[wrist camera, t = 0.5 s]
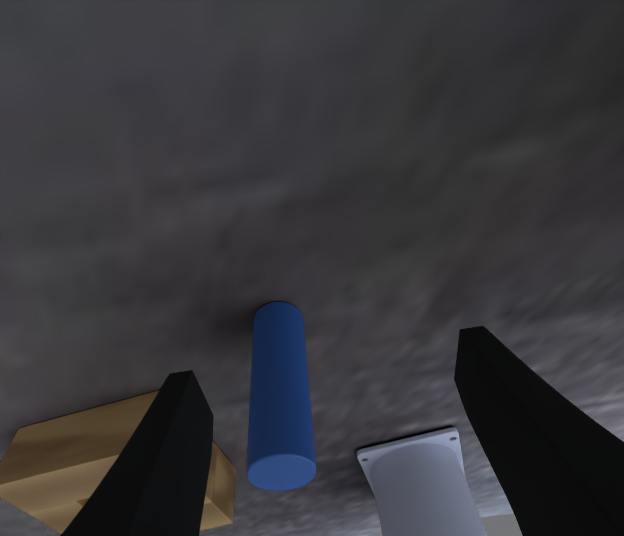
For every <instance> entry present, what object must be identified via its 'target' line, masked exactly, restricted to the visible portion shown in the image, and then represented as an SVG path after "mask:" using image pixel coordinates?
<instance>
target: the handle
mask: <svg viewBox="0 0 624 536" xmlns="http://www.w3.org/2000/svg"><path fill="white" fill-rule="evenodd" d="M315 474H316V458H315V447H314V436H313V425H312V414H311V403H310V392H309V381H308V370H307V359H306V348H305V337H304V326H303V317H302V314H301V312H300V311H299V309H298V308H296V307H295V306H294V305H292V304H289V303H286V302H272V303H269V304H266V305H264V306H263V307H261V308H260V309H259V310H258V311H257V313H256V315H255V317H254V330H253V350H252V369H251V389H250V409H249V428H248V448H247V467H246V476H247V478H248V480H249V482H250V483H251V484H253V485H254V486H256V487H258V488H261V489H264V490H269V491H286V490H292V489H296V488H299V487H301V486H304V485H305V484H307V483H309V482H310V481H311V480H312V479H313V478H314V476H315Z"/></svg>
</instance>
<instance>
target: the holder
mask: <svg viewBox="0 0 624 536" xmlns="http://www.w3.org/2000/svg"><path fill="white" fill-rule="evenodd" d="M158 392H159V390H158V391H155V392H151V393H147V394H144V395H140V396H136V397H133V398H129V399H125V400H122V401H118V402H114V403H111V404H107V405H103V406H100V407H96V408H92V409H88V410H85V411H81V412H77V413H74V414H70V415H66V416H63V417H59V418H55V419H52V420H48V421H44V422H41V423H37V424H33V425H30V426H26V427H22V428H19V429H18V431H17V433H16V435H15V436H14V438H13V440H12V442H11V444H10V445H9V447H8V449H7V451H6V453H5V454H4V456H3V458H2V460H1V462H0V498H2V499H3V500H5V501H7V502H8V503H10V504H12V505H13V506H15V507H17V508H18V509H20V510H22V511H23V512H25V513H27V514H29V515H31V516H32V517H34V518H36V519H37V520H39V521H41V522H42V523H44V524H46V525H47V526H49V527H51V528H52V529H54V530H56V531H57V532H59V533H61V534H62V533H63V531H64V530H65V529H66V528H67V526H68V525H69V524H70V523H71V521H72V520H73V519H74V518H75V516H76V515H77V514H78V512H79V511H80V510H81V508H82V507H83V506H84V504H85V503H86V502H87V500H88V499H89V498H90V496H91V495H92V494H93V492H94V491H95V489H96V488H97V486H98V485H99V484H100V482H101V481H102V479H103V478H104V476H105V475H106V474H107V472H108V471H109V469H110V468H111V466H112V465H113V463H114V462H115V461H116V459H117V458H118V456H119V455H120V453H121V452H122V450H123V448H124V447H125V445H126V444H127V442H128V441H129V439H130V437H131V436H132V434H133V433H134V431H135V430H136V428H137V427H138V425H139V423H140V422H141V420H142V418H143V417H144V415H145V414H146V412H147V410H148V409H149V407H150V405H151V404H152V402H153V400H154V399H155V397H156V395H157V394H158ZM235 482H236V468H235V467H234V466H233V465H232V463H231V462H230V461H229V460H228V459H227V457H226V456H225V455H224V454H223V453H222V451H221V450H220V449H219V448H218V447H217V445H216V444H215V443H214V442H213V441H212V456H211V463H210V469H209V476H208V482H207V488H206V495H205V501H204V507H203V513H202V519H201V526H200V531H201V530H206V529H210V528H214V527H219V526H223V525H227V524H232V523H233V510H234V496H235Z"/></svg>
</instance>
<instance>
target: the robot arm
mask: <svg viewBox="0 0 624 536" xmlns="http://www.w3.org/2000/svg"><path fill="white" fill-rule="evenodd" d="M454 380H455V383H456V386H457V389H458V392H459V395H460V398H461V400H462V403H463V406H464V409H465V411H466V414H467V416H468V419H469V421H470V423H471V425H472V427H473V429H474V431H475V433H476V435H477V437H478V439H479V441H480V444H481V446H482V448H483V450H484V452H485V454H486V456H487V458H488V460H489V462H490V464H491V466H492V468H493V470H494V472H495V474H496V476H497V478H498V480H499V482H500V484H501V486H502V488H503V490H504V492H505V495H506V497H507V499H508V501H509V503H510V505H511V508H512V510H513V512H514V514H515V517H516V519H517V522H518V524H519V527H520V530H521V532H522V535H523V536H624V442H623V441H622V440H620V439H619V438H617V437H616V436H615V435H613V434H612V433H610V432H609V431H608V430H606V429H605V428H604V427H602V426H601V425H599V424H598V423H597V422H595V421H594V420H593V419H592V418H590V417H589V416H588V415H586V414H585V413H584V412H582V411H581V410H580V409H579V408H577V407H576V406H575V405H573V404H572V403H571V402H570V401H568V400H567V399H566V398H565V397H563V396H562V395H561V394H560V393H559V392H557V391H556V390H555V389H554V388H553V387H551V386H550V385H549V384H548V383H547V382H545V381H544V380H543V379H542V378H541V377H540V376H538V375H537V374H536V373H535V372H534V371H533V370H531V369H530V368H529V367H528V366H527V365H526V364H525V363H523V362H522V361H521V360H520V359H519V358H518V357H517V356H516V355H515V354H513V353H512V352H511V351H510V350H509V349H508V348H507V347H506V346H505V345H504V344H502V343H501V342H500V341H499V340H498V339H497V338H496V337H495V336H494V335H493V334H492V333H491V332H489V331H488V330H487V329H486V328H485V327H484V326H479V327H473V328H466V329H460V333H459V342H458V351H457V359H456V368H455V377H454ZM212 441H213V414H212V411H211V409H210V407H209V405H208V403H207V401H206V399H205V396H204V394H203V392H202V390H201V388H200V386H199V384H198V381H197V379H196V377H195V375H194V373H193V371H192V370H191V371H184V372H178V373H171V374H169V376H168V377H167V378H166V380H165V382H164V383H163V385H162V387H161V388H160V390H159V392H158V394H157V395H156V397H155V399H154V400H153V402H152V404H151V405H150V407H149V409H148V410H147V412H146V414H145V415H144V417H143V418H142V420H141V422H140V423H139V425H138V427H137V428H136V430H135V431H134V433H133V434H132V436H131V437H130V439H129V441H128V442H127V444H126V445H125V447H124V448H123V450H122V452H121V453H120V455H119V456H118V458H117V459H116V461H115V462H114V463H113V465H112V466H111V468H110V469H109V471H108V472H107V474H106V475H105V476H104V478H103V479H102V481H101V482H100V484H99V485H98V486H97V488H96V489H95V491H94V492H93V494H92V495H91V496H90V498H89V499H88V500H87V502H86V503H85V504H84V506H83V507H82V508H81V510H80V511H79V512H78V514H77V515H76V516H75V518H74V519H73V520H72V521H71V523H70V524H69V525H68V526H67V528H66V529H65V530H64V531H63V533H62V534H61V535H60V536H199V532H200V526H201V519H202V513H203V507H204V501H205V495H206V488H207V482H208V476H209V469H210V463H211V456H212ZM357 458H358V460H359V463H360V465H361V467H362V469H363V471H364V474H365V476H366V478H367V480H368V482H369V485H370V487H371V489H372V491H373V493H374V496H375V499H376V504H377V509H378V514H379V519H380V524H381V529H382V534H383V536H487V533H486V531H485V528H484V525H483V523H482V520H481V518H480V515H479V512H478V510H477V507H476V505H475V502H474V500H473V497H472V494H471V492H470V489H469V487H468V484H467V481H466V479H465V472H464V466H463V459H462V453H461V446H460V440H459V433H458V431H457V429H456V428H453V427H451V428H447V429H442V430H438V431H434V432H430V433H426V434H422V435H417V436H413V437H409V438H405V439H401V440H397V441H393V442H388V443H384V444H380V445H376V446H372V447H368V448H363V449H360V450H358V451H357Z"/></svg>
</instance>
